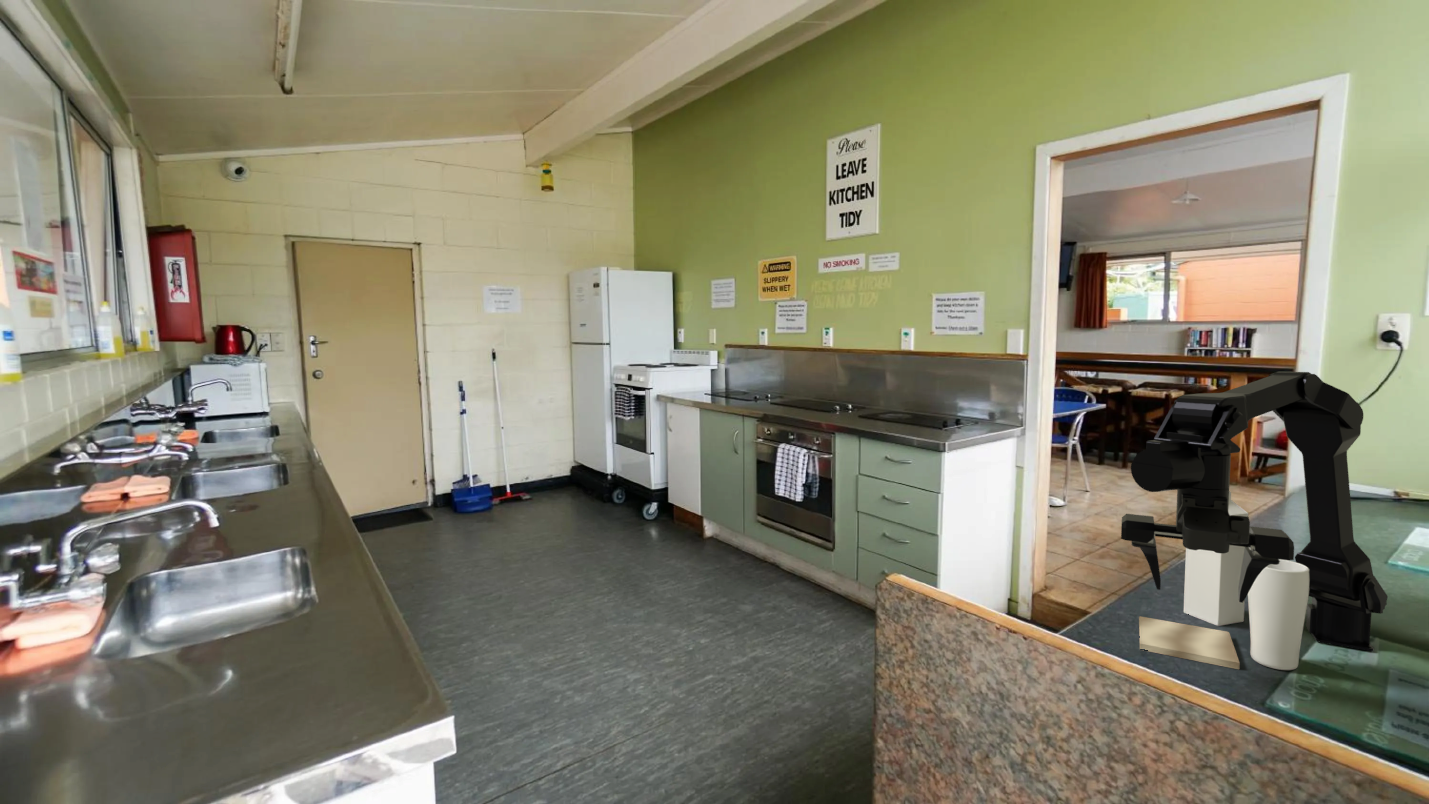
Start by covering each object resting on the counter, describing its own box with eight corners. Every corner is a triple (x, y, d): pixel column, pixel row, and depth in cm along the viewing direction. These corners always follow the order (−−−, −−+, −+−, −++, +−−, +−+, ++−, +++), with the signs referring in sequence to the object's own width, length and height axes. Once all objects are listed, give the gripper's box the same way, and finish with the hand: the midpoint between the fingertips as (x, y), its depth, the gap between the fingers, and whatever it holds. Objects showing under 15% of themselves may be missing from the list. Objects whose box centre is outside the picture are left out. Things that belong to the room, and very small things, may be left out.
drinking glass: (1317, 676, 90) (1322, 573, 88) (1262, 672, 91) (1267, 570, 90) (1284, 654, 96) (1289, 557, 95) (1233, 650, 97) (1237, 555, 96)
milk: (1244, 622, 108) (1251, 494, 106) (1217, 626, 106) (1224, 497, 104) (1207, 608, 114) (1213, 487, 112) (1181, 612, 112) (1187, 489, 110)
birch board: (1228, 637, 102) (1228, 631, 102) (1239, 669, 92) (1239, 662, 92) (1139, 621, 108) (1139, 616, 108) (1139, 649, 98) (1140, 643, 98)
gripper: (1122, 489, 86) (1118, 600, 87) (1306, 505, 76) (1300, 631, 77) (1123, 475, 96) (1120, 576, 97) (1287, 488, 85) (1282, 601, 86)
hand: (1198, 595), depth 89 cm, fingers open, 9 cm apart
